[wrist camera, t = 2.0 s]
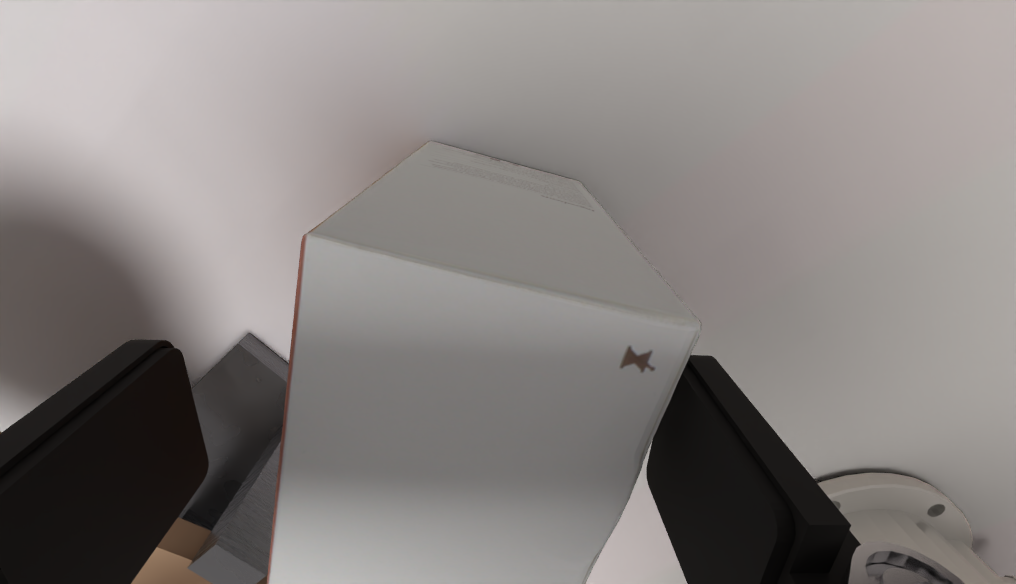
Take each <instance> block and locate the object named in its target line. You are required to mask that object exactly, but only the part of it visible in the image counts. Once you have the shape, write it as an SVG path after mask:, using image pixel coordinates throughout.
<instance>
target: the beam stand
mask: <svg viewBox="0 0 1016 584" xmlns="http://www.w3.org/2000/svg"><path fill="white" fill-rule="evenodd" d="M288 370H289V364H288V363H286V362H285V361H284V360H283V359H281V358H280V357H279V356H278V355H276V354H275V353H274V352H273V351H271V350H270V349H269V348H268V347H266V346H265V345H264V344H263V343H261V342H260V341H259V340H258V339H256V338H255V337H254V336H253V335H251V334H250V333H248V334H247V335H246V336H245V337H244V338H243V339H242V340H241V341H240V342H239V343H238V344H237V345H236V346H235V347H234V348H233V349H232V350H231V351H230V352H229V353H228V354H227V355H226V356H225V357H224V358H223V359H222V360H221V361H220V362H219V363H218V364H217V365H216V366H215V367H214V368H213V369H211V370H210V371H209V372H208V373H207V374H206V375H205V376H204V377H203V378H202V379H201V380H200V381H199V382H198V383H197V384H196V385H195V386H194V387H193V388H192V389H191V390H192V394H193V398H194V402H195V406H196V410H197V414H198V419H199V423H200V427H201V431H202V435H203V439H204V443H205V447H206V451H207V455H208V460H209V468H208V472H207V475H206V478H205V479H204V481H203V483H202V484H201V485H200V487H199V488H198V490H197V491H196V492H195V494H194V495H193V497H192V498H191V500H190V501H189V502H188V504H187V505H186V507H185V508H184V509H183V511H182V512H181V514H180V515H179V516H178V517H179V518H181V519H184V520H186V521H188V522H191V523H193V524H196V525H198V526H201V527H203V528H205V529H208V530H210V531H211V532H210V534H209V535H208V537H207V539H206V540H205V542H204V543H203V545H202V546H201V548H200V549H199V551H198V552H197V554H196V555H195V557H194V558H193V560H192V561H191V563H190V564H189V566H188V567H187V569H189V570H191V571H192V572H194V573H196V574H197V575H199V576H201V577H202V578H204V579H206V580H207V581H209V582H211V583H212V584H256V583H258V582H259V581H260V580H261V579H263V578H264V577H265V576H266V575H267V573H268V566H269V556H270V546H271V536H272V525H273V514H274V507H275V493H276V483H277V473H278V466H279V456H280V445H281V436H282V428H283V418H284V407H285V397H286V388H287V379H288Z"/></svg>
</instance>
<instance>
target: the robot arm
mask: <svg viewBox="0 0 1016 584" xmlns="http://www.w3.org/2000/svg"><path fill="white" fill-rule="evenodd" d="M208 468H209V460H208V455H207V451H206V447H205V443H204V439H203V435H202V431H201V427H200V423H199V419H198V414H197V410H196V406H195V402H194V398H193V394H192V390H191V386H190V382H189V378H188V374H187V370H186V366H185V362H184V358H183V355H182V352H181V351H180V350H179V349H176V348H174V346H173V345H172V344H171V343H170V342H168V341H166V340H130V341H128V342H126V343H125V344H123V345H122V346H120V347H119V348H118V349H116V350H115V351H114V352H112V353H111V354H109V355H108V356H107V357H105V358H104V359H103V360H101V361H100V362H98V363H97V364H96V365H94V366H93V367H92V368H90V369H89V370H87V371H86V372H85V373H83V374H82V375H81V376H79V377H78V378H76V379H75V380H74V381H72V382H71V383H69V384H68V385H67V386H65V387H64V388H63V389H61V390H60V391H58V392H57V393H56V394H54V395H53V396H52V397H50V398H49V399H47V400H46V401H45V402H43V403H42V404H41V405H39V406H38V407H36V408H35V409H34V410H32V411H31V412H30V413H28V414H27V415H25V416H24V417H23V418H21V419H20V420H19V421H17V422H16V423H14V424H13V425H12V426H10V427H9V428H8V429H6V430H5V431H3V432H2V433H1V434H0V584H131V583H132V581H133V580H134V579H135V577H136V576H137V574H138V573H139V572H140V570H141V569H142V567H143V566H144V565H145V563H146V562H147V560H148V559H149V557H150V556H151V555H152V553H153V552H154V550H155V549H156V548H157V546H158V545H159V543H160V542H161V540H162V539H163V538H164V536H165V535H166V533H167V532H168V531H169V529H170V528H171V526H172V525H173V524H174V522H175V521H176V519H177V518H178V516H179V515H180V514H181V512H182V511H183V509H184V508H185V507H186V505H187V504H188V502H189V501H190V500H191V498H192V497H193V495H194V494H195V492H196V491H197V490H198V488H199V487H200V485H201V484H202V483H203V481H204V479H205V478H206V475H207V472H208ZM647 481H648V485H649V488H650V490H651V493H652V495H653V498H654V500H655V503H656V506H657V508H658V511H659V513H660V516H661V518H662V521H663V523H664V526H665V528H666V531H667V533H668V536H669V538H670V541H671V543H672V546H673V548H674V551H675V553H676V556H677V558H678V561H679V563H680V566H681V568H682V571H683V573H684V576H685V578H686V581H687V583H688V584H1016V576H1004V577H999V576H998V575H997V574H996V573H995V572H994V571H993V570H992V569H991V568H990V567H988V566H987V565H986V564H985V563H984V562H983V561H982V560H981V559H980V558H979V557H978V556H977V555H976V554H975V553H974V552H973V551H972V545H973V538H972V533H971V527H970V525H969V523H968V521H967V519H966V517H965V516H964V514H963V512H962V511H961V510H960V509H959V508H958V507H956V506H955V505H954V504H953V503H952V502H951V501H950V500H949V499H948V498H947V497H946V496H945V495H944V494H943V493H941V492H940V491H938V490H937V489H936V488H934V487H933V486H932V485H930V484H928V483H925V482H923V481H920V480H918V479H916V478H913V477H908V476H903V475H898V474H893V473H862V474H854V475H845V476H841V477H837V478H834V479H830V480H826V481H822V482H819V483H816V481H815V480H814V479H813V478H812V476H811V475H810V474H809V473H808V472H807V470H806V469H805V468H804V467H803V465H802V464H801V463H800V462H799V461H798V459H797V458H796V457H795V456H794V454H793V453H792V452H791V451H790V450H789V448H788V447H787V446H786V445H785V443H784V442H783V441H782V440H781V439H780V437H779V436H778V435H777V434H776V432H775V431H774V430H773V429H772V428H771V426H770V425H769V424H768V423H767V421H766V420H765V419H764V418H763V417H762V415H761V414H760V413H759V412H758V410H757V409H756V408H755V407H754V406H753V404H752V403H751V402H750V401H749V399H748V398H747V397H746V396H745V395H744V393H743V392H742V391H741V390H740V388H739V387H738V386H737V385H736V384H735V382H734V381H733V380H732V379H731V377H730V376H729V375H728V374H727V373H726V371H725V370H724V369H723V368H722V366H721V365H720V364H719V363H718V362H717V360H716V359H715V358H714V357H712V356H699V355H690V357H689V359H688V361H687V364H686V366H685V368H684V370H683V372H682V374H681V376H680V379H679V381H678V383H677V385H676V388H675V390H674V392H673V395H672V397H671V400H670V402H669V404H668V406H667V408H666V410H665V413H664V415H663V417H662V419H661V421H660V424H659V426H658V428H657V431H656V433H655V435H654V437H653V441H652V445H651V450H650V454H649V459H648V463H647Z"/></svg>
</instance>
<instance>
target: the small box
mask: <svg viewBox="0 0 1016 584" xmlns="http://www.w3.org/2000/svg"><path fill="white" fill-rule="evenodd" d="M700 332H701V322H700V321H699V320H698V319H697V317H696V316H695V315H694V314H693V313H692V312H691V311H690V309H689V308H688V307H687V306H686V305H685V304H684V303H683V301H682V300H681V299H680V298H679V297H678V296H677V294H676V293H675V292H674V291H673V290H672V289H671V287H670V286H669V285H668V284H667V283H666V282H665V280H664V279H663V278H662V277H661V276H660V275H659V273H658V272H657V271H656V270H655V269H654V268H653V266H652V265H651V264H650V263H649V262H648V261H647V260H646V258H645V257H644V256H643V255H642V254H641V253H640V251H639V250H638V249H637V248H636V247H635V245H634V244H633V243H632V242H631V241H630V240H629V238H628V237H627V236H626V235H625V234H624V233H623V231H622V230H621V229H620V228H619V227H618V225H617V224H616V223H615V222H614V221H613V220H612V218H611V217H610V216H609V215H608V213H607V212H606V211H605V210H604V209H603V207H602V206H601V205H600V204H599V203H598V202H597V200H596V199H595V198H594V197H593V196H592V195H591V194H590V193H589V191H588V190H587V189H586V188H585V187H584V186H583V184H582V183H581V182H580V181H577V180H573V179H569V178H565V177H562V176H558V175H554V174H551V173H547V172H543V171H540V170H536V169H532V168H529V167H525V166H521V165H517V164H514V163H510V162H507V161H503V160H499V159H496V158H492V157H488V156H485V155H481V154H477V153H474V152H470V151H467V150H463V149H459V148H456V147H452V146H448V145H444V144H441V143H437V142H434V141H429V142H427V143H426V144H425V145H423V146H422V147H421V148H420V149H418V150H417V151H416V152H414V153H413V154H411V155H410V156H409V157H407V158H406V159H405V160H403V161H402V162H401V163H400V164H398V165H397V166H396V167H395V168H393V169H392V170H390V171H389V172H387V173H386V174H385V175H384V176H382V177H381V178H380V179H378V180H377V181H376V182H374V183H373V184H372V185H371V186H369V187H368V188H367V189H365V190H364V191H363V192H362V193H360V194H359V195H358V196H356V197H355V198H354V199H352V200H351V201H350V202H348V203H347V204H346V205H344V206H343V207H342V208H340V209H339V210H338V211H336V212H335V213H334V214H332V215H331V216H330V217H329V218H327V219H326V220H325V221H323V222H322V223H320V224H319V225H318V226H316V227H315V228H314V229H312V230H311V231H309V232H308V233H307V234H305V235H304V236H303V238H302V242H301V251H300V261H299V270H298V280H297V289H296V299H295V309H294V319H293V329H292V339H291V349H290V359H289V370H288V379H287V388H286V397H285V407H284V418H283V428H282V436H281V445H280V456H279V466H278V473H277V483H276V493H275V507H274V514H273V525H272V536H271V546H270V556H269V566H268V576H267V584H585V583H586V581H587V579H588V577H589V575H590V573H591V571H592V568H593V566H594V564H595V563H596V561H597V559H598V557H599V555H600V553H601V551H602V549H603V547H604V545H605V543H606V542H607V540H608V538H609V537H610V535H611V533H612V531H613V530H614V528H615V526H616V525H617V523H618V521H619V519H620V517H621V515H622V513H623V511H624V509H625V507H626V504H627V502H628V500H629V498H630V495H631V493H632V490H633V488H634V485H635V483H636V480H637V478H638V476H639V473H640V471H641V468H642V464H643V461H644V458H645V456H646V453H647V451H648V448H649V446H650V444H651V441H652V439H653V437H654V435H655V433H656V431H657V428H658V426H659V424H660V421H661V419H662V417H663V415H664V413H665V410H666V408H667V406H668V404H669V402H670V400H671V397H672V395H673V392H674V390H675V388H676V385H677V383H678V381H679V379H680V376H681V374H682V372H683V370H684V368H685V366H686V364H687V361H688V359H689V357H690V355H691V353H692V350H693V348H694V346H695V344H696V342H697V340H698V338H699V335H700Z"/></svg>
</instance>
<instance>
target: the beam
mask: <svg viewBox="0 0 1016 584" xmlns="http://www.w3.org/2000/svg"><path fill="white" fill-rule="evenodd" d="M0 434H1V432H0ZM210 532H211V531H210V530H208V529H205V528H203V527H201V526H198V525H196V524H193V523H191V522H188V521H186V520H184V519H181V518H179V517H178V518H177V519H176V521H175V522H174V524H173V525H172V526H171V528H170V529H169V531H168V532H167V533H166V535H165V536H164V538H163V539H162V540H161V542H160V543H159V545H158V546H157V548H156V549H155V550H154V552H153V553H152V555H151V556H150V557H149V559H148V560H147V562H146V563H145V565H144V566H143V567H142V569H141V570H140V572H139V573H138V574H137V576H136V577H135V579H134V580H133V581H132V583H131V584H212V583H211V582H209V581H207V580H206V579H204V578H202V577H201V576H199V575H197V574H196V573H194V572H192V571H191V570H189V569H187V567H188V566H189V564H190V563H191V561H192V560H193V558H194V557H195V555H196V554H197V552H198V551H199V549H200V548H201V546H202V545H203V543H204V542H205V540H206V539H207V537H208V535H209V534H210ZM267 576H268V573H267V575H266V576H265V577H264V578H263V579H261V580H260V581H259V582H258V583H256V584H267Z"/></svg>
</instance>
